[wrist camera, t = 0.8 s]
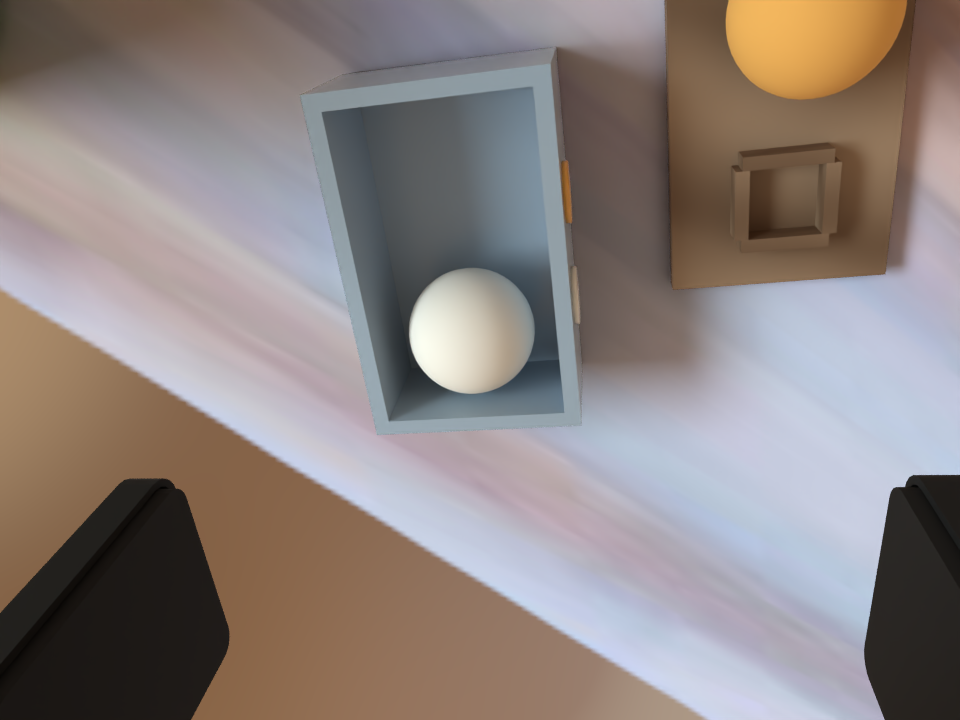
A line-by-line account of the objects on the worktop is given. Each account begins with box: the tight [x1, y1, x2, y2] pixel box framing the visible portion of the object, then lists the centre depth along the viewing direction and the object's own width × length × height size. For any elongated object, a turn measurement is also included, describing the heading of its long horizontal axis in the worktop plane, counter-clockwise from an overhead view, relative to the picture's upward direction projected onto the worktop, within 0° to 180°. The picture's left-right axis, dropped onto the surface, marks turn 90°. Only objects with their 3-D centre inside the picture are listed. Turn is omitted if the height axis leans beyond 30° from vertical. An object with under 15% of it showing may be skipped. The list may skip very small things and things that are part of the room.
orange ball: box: [726, 0, 907, 100], centre depth 23 cm, size 5×5×5 cm
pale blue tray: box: [300, 47, 582, 435], centre depth 30 cm, size 13×8×5 cm, turn 8°
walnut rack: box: [665, 0, 916, 290], centre depth 26 cm, size 20×8×2 cm, turn 8°
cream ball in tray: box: [409, 268, 535, 394], centre depth 31 cm, size 5×5×5 cm
